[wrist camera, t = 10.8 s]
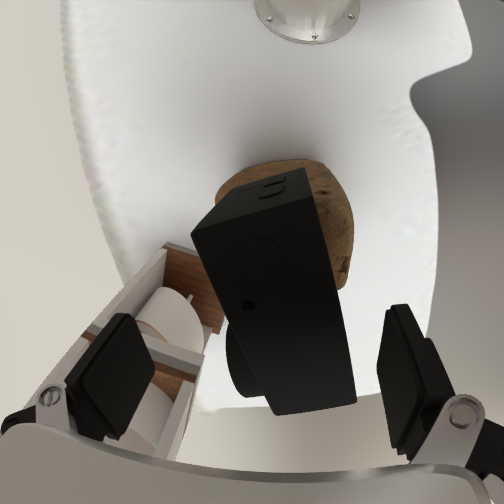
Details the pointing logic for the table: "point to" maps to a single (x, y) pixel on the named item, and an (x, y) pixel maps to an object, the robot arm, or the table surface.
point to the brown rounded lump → (327, 203)
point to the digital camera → (277, 295)
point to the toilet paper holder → (160, 346)
